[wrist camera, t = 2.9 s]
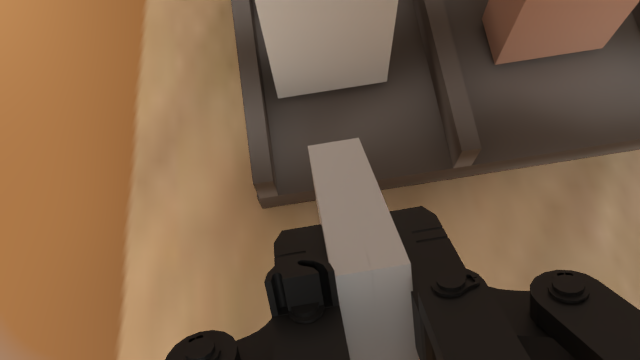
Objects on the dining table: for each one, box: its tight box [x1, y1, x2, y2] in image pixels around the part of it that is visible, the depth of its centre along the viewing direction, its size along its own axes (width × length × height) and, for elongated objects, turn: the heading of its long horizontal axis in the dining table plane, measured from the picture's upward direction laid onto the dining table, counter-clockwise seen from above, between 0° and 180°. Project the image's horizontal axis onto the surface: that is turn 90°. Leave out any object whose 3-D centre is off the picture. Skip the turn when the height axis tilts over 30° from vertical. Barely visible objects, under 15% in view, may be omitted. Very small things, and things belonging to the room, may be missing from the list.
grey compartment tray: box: [231, 0, 640, 209], centre depth 27 cm, size 12×28×4 cm, turn 99°
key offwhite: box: [255, 0, 398, 98], centre depth 23 cm, size 2×5×7 cm, turn 99°
